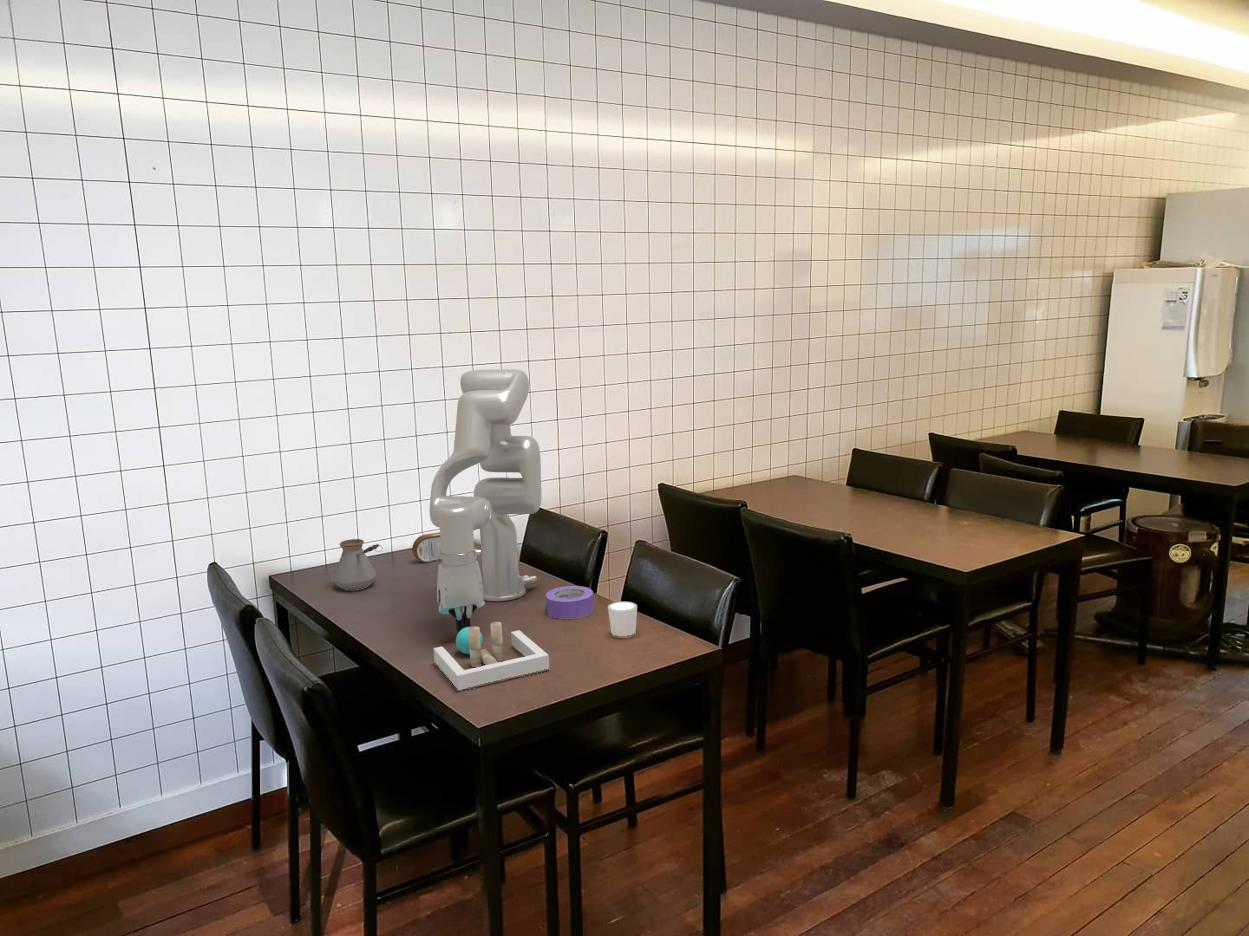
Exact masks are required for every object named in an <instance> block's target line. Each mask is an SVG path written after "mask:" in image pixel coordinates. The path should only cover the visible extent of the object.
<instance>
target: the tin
mask: <svg viewBox="0 0 1249 936" xmlns="http://www.w3.org/2000/svg"><path fill="white" fill-rule="evenodd" d="M412 554H413V556H414V557H415V558H416V559H417V560H418V561H420V562H421V563H425V562H428V561H434V560H440V559H442V554H441V540H440V531H439V532H433V533H426V534H425V533H424V534H422V535H419V536H418V537H417V538H416V539H415V540H414V542H413V544H412ZM440 561H441V560H440ZM434 562H435V561H434ZM428 563H429V562H428Z"/></svg>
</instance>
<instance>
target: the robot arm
mask: <svg viewBox="0 0 1249 936" xmlns="http://www.w3.org/2000/svg"><path fill="white" fill-rule="evenodd" d="M459 383H460V389H461V392H462V394H461V395H460V397H459V398H458V400H457V406H456V407H457V408H456V420H455V430H454V441H453V450H452V454H450V456H449V457H448V458H447V459H446V460H445V461H444V462H443V463H442V465H441V466H440V468H439V469H438V470H437V472H436V474H435V476H434V478H433V481H432V484H431V488H430V499H429V518H430V521H431V524H432V525H433V526H435V527H436V528H438V529H439V532H440V540H441V554H442V560H441V563H439V564H438V566H437V576H436V597H437V598H436V599H437V603H438V604H439V607H438V612H439V613H440V614H441V615H451V616H452V617H454V618H455V626H456V627H455V630H456V632H457V633H459V632H460V631H461V630H462V629H463V628H466V627H471V618H472V615H473V614H474V613H475V612H476V610H477V609H479V608H482V607H484V606H485V604H486V603H485V601H487V602H505V601H506V602H507V601H513V600H515V599H516V600H517V599H519V598H521V597H523V596H524V595H525V594H526V587H525V586H526V585H529V584H535V583H537V582H538V581H537V579H538V578H537V575H531V576H529V575H528V574H525V575H520V572H519V556H518V537H517V528H516V526H515V523H514V522H513V520H512V518H510V516H509V515H533V514H536V513H537V512H539V510H540V508H541V506H542V467H541V466H542V465H541V462H542V460H541V449H540V446H539V443H538V441H537V440H536V439H535V438H534V437H533V436H530V435H529V436H528V435H512V429H511V425H512V424H514V423H515V422H516V421H517V420H518V418H519V416H520V414H521V412H522V410H523V407H524V405H525V403H526V401H527V398H528V395H529V391H530V379H529V377H528V375H527V373H525V371H523V370H521V369H512V368H510V369H507V368H506V369H474V370H473V369H472V370H469V371H466V372H464V373H462V375H461V377H460V382H459ZM478 464H479V465H480V468H481V470H483V471H485V472H488V473H517V474H518V473H519V474H520V476H521V477H508V476H507V477H497V476H496V477H487V478H484V479H481V480H479V481H478V482H477V483H476V484H475V486H474V489H473V496H465V495H464V496H463V495H462V496H458V495H455V496H454V495H453V496H452V495H451V496H449V495H447V491H448V488H449V485H450V483H451V482H452V480H453V479H455V477H456V476H458V475H460V473H462V472H463V471H465V470H467V469H469V468H471V467H474V466H476V465H478ZM477 530H479V535H480V536H479V537H480V548H479V549H476V548H475V536H474V531H477ZM478 556H481V565H482V566H481V567H482V571H481V567H480V564H479V561H478V560H477V557H478ZM461 608H463V609H462V612H461Z"/></svg>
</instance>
